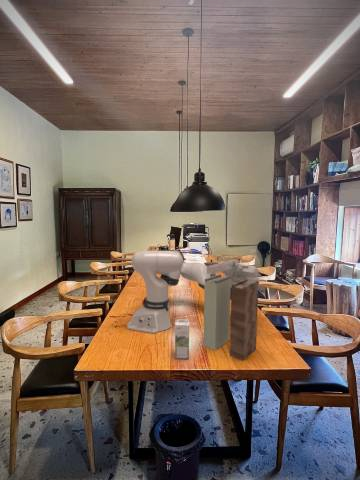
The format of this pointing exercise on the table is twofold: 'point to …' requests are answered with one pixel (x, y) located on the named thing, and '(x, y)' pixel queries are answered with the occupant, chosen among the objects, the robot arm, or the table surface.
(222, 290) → the sage stand
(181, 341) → the syrup box
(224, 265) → the steel bar
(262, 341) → the table surface
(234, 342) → the walnut stand
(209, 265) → the coffeepot
